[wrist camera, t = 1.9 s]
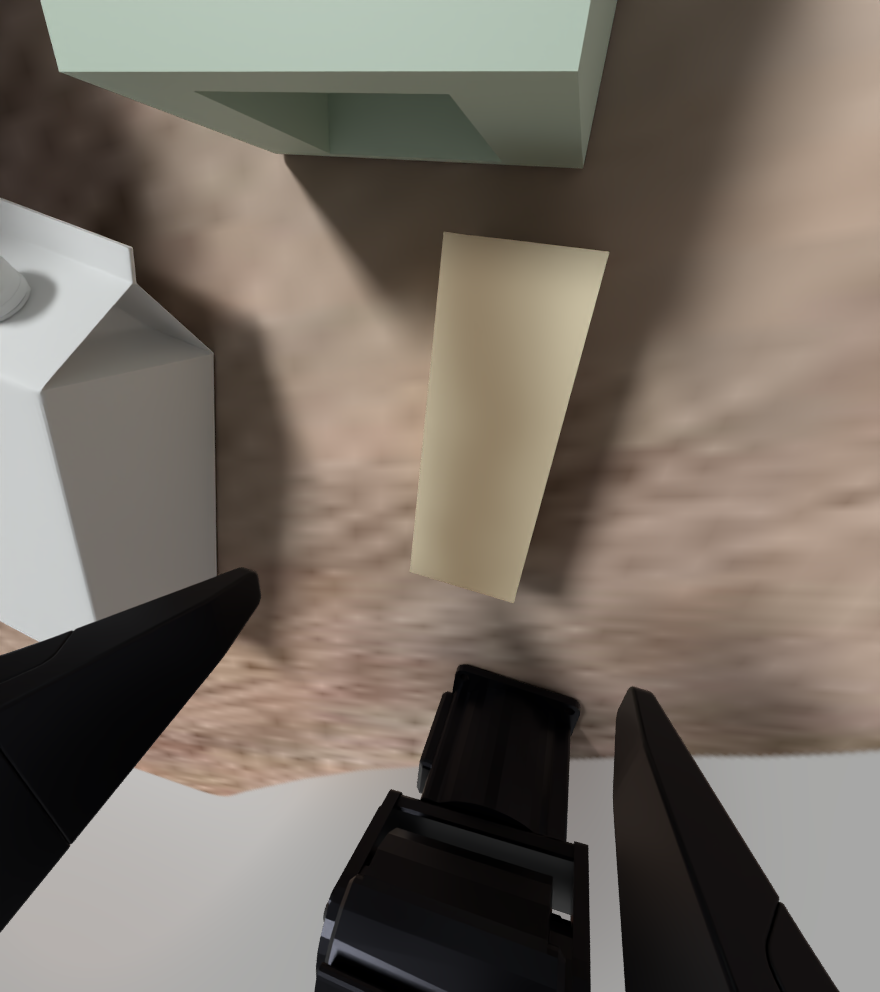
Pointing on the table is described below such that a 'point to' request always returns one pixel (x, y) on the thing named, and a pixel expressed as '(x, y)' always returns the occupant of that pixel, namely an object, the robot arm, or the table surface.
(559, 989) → the robot arm
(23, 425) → the milk carton
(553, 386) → the beige rectangular block
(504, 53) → the sliding block
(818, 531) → the table surface
